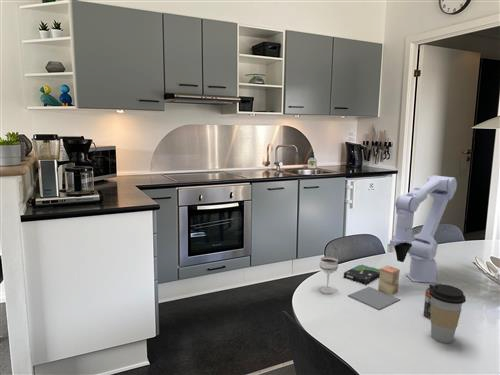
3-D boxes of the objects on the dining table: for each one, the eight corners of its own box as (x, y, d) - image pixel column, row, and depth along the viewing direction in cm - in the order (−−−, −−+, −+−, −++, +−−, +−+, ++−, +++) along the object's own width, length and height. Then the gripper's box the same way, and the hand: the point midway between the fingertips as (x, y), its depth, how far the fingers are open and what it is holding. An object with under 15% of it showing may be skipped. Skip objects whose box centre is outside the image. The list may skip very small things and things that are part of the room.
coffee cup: (418, 329, 116) (423, 283, 113) (447, 328, 116) (453, 283, 114) (436, 347, 106) (442, 297, 104) (467, 346, 107) (474, 296, 105)
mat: (369, 287, 145) (369, 286, 145) (400, 300, 135) (400, 299, 135) (347, 296, 137) (347, 295, 137) (379, 310, 127) (379, 309, 127)
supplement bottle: (441, 313, 126) (445, 281, 124) (444, 322, 120) (448, 289, 119) (422, 310, 128) (425, 279, 126) (424, 318, 122) (427, 285, 120)
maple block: (385, 287, 146) (387, 265, 144) (397, 292, 142) (399, 269, 140) (378, 290, 143) (380, 268, 141) (390, 295, 139) (392, 272, 137)
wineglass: (336, 295, 138) (338, 263, 136) (317, 292, 139) (319, 262, 137) (336, 287, 145) (338, 257, 143) (318, 285, 146) (320, 255, 144)
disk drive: (366, 286, 147) (383, 276, 158) (366, 280, 147) (383, 270, 158) (342, 279, 154) (360, 269, 165) (343, 272, 154) (360, 263, 165)
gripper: (404, 222, 151) (401, 255, 153) (383, 226, 142) (380, 261, 144) (421, 226, 145) (417, 260, 147) (401, 231, 136) (397, 266, 138)
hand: (400, 261), depth 145 cm, fingers closed
